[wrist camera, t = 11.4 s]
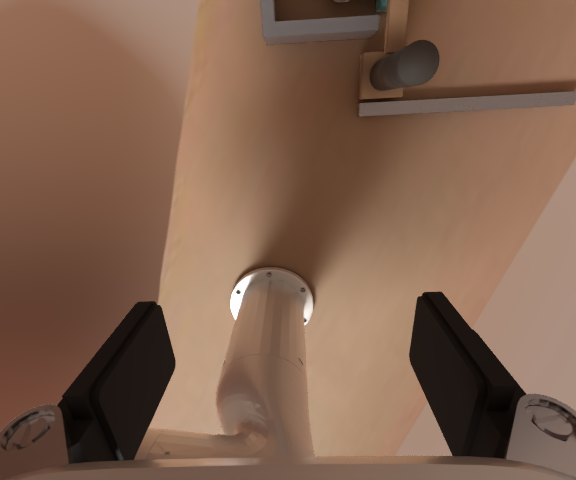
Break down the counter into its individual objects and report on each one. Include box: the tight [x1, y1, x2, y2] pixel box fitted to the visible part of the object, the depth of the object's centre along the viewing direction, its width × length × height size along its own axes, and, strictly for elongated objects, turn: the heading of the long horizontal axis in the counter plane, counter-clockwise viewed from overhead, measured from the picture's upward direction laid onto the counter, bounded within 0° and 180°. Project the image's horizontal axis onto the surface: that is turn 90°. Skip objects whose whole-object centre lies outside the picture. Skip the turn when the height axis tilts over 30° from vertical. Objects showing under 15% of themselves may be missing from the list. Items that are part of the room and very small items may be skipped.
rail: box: [357, 91, 576, 117], centre depth 35 cm, size 1×24×1 cm, turn 93°
